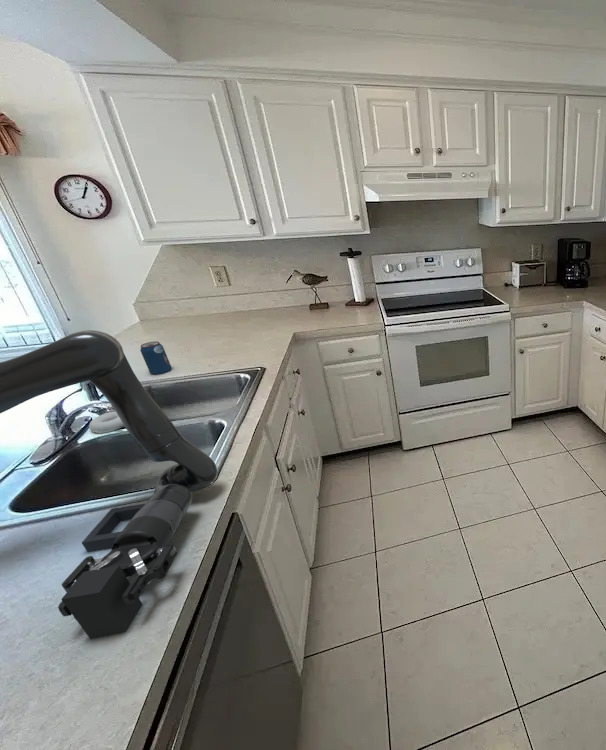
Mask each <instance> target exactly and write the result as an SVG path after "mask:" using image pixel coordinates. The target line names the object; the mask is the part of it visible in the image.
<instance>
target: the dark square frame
mask: <svg viewBox="0 0 606 750" xmlns="http://www.w3.org/2000/svg"><path fill="white" fill-rule="evenodd" d="M146 503H147V502H146ZM146 503H139V504H133V505H125V506H119V507H113V508H111V509H110V510H109V511H108V512H107V513H106V514H105V515H104V517H103V518H102V519H101V520H100V521H99V522H98V524H96V526H94V528H93V529H92V530H91V531H90V533H88V535H87V536H86V537H85V538H83V540H82V541H81V544H82V546H83V548H84V550H85V551H86V552H87V553H92V552H98V551H104V550H111V549H112V547H113V544H114V541H115V539H116V538H117V537H118V536H119V534H120V533H121V532H122V531H123V530H122V531H116V532H113V531H114V530H115V529H116V528H117V527H118V525H119V524H120V523H121V522H125V521H131V519H132V518H133V517H134V516H135V514H136V513H137V512H138V511H139V510H140V509H141V508H142V507H143V506H144V505H145V504H146Z"/></svg>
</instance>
